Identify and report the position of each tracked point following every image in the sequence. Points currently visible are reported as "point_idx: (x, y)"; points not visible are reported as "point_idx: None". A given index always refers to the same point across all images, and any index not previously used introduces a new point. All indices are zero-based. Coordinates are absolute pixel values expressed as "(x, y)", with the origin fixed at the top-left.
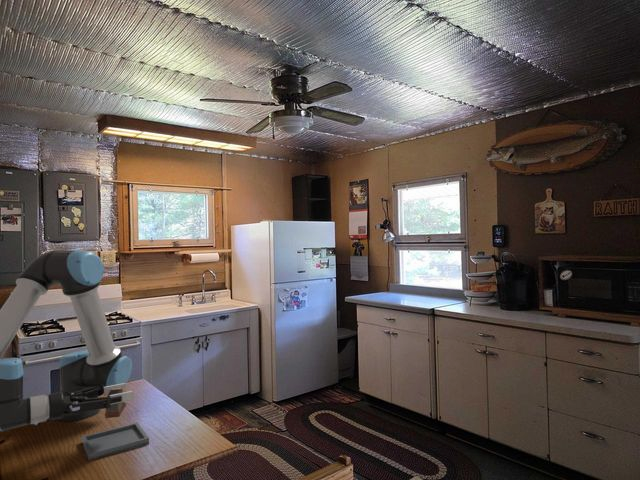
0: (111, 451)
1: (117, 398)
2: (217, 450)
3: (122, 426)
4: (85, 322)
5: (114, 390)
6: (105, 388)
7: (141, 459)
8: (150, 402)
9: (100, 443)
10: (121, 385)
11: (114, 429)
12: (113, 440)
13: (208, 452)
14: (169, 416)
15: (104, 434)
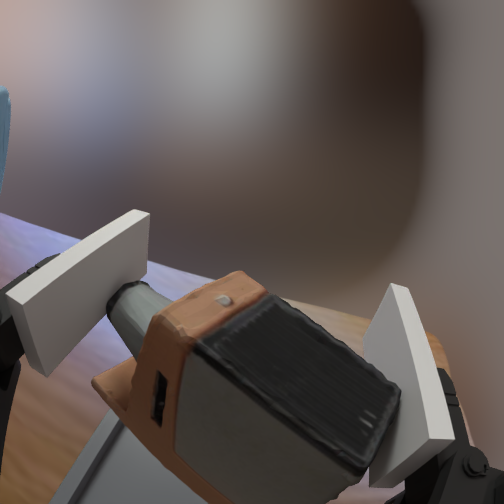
0: None
1: (452, 406)
2: (440, 353)
3: (111, 410)
4: None
5: (252, 330)
6: (36, 309)
7: (401, 490)
8: (39, 253)
9: None
10: (131, 235)
11: (104, 443)
12: (178, 500)
13: (441, 367)
14: (163, 295)
15: (86, 479)
